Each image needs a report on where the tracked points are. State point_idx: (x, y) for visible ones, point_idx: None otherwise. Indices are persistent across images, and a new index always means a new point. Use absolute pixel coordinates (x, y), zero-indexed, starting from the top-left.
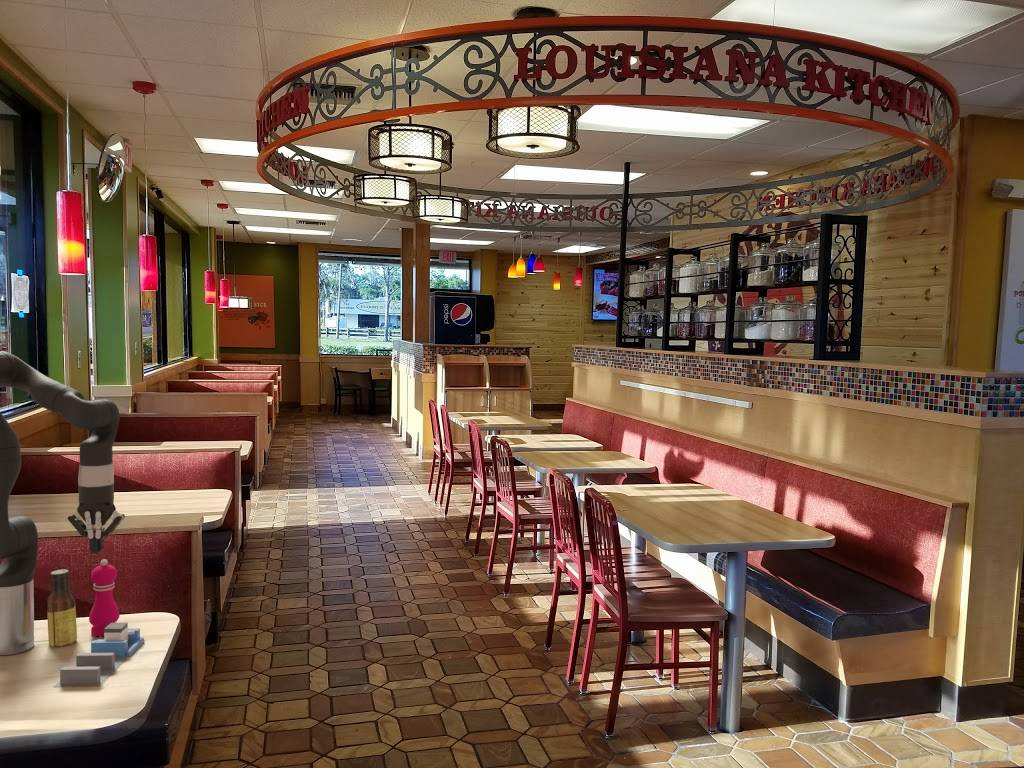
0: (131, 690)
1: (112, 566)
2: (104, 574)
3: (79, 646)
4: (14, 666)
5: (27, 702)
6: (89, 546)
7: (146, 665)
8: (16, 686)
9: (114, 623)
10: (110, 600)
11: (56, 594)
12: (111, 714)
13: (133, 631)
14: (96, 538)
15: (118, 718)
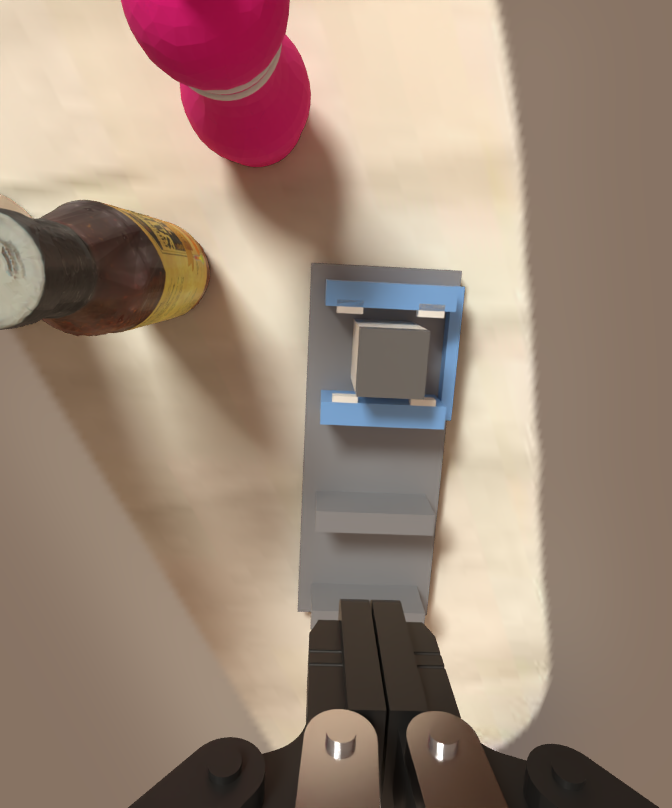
0: (502, 593)
1: None
2: (235, 69)
3: (219, 257)
4: (84, 416)
5: (254, 641)
6: (306, 708)
7: (501, 435)
8: (172, 552)
9: (377, 338)
10: (275, 87)
11: (65, 321)
12: (489, 707)
13: (441, 317)
14: (394, 795)
15: (511, 725)
